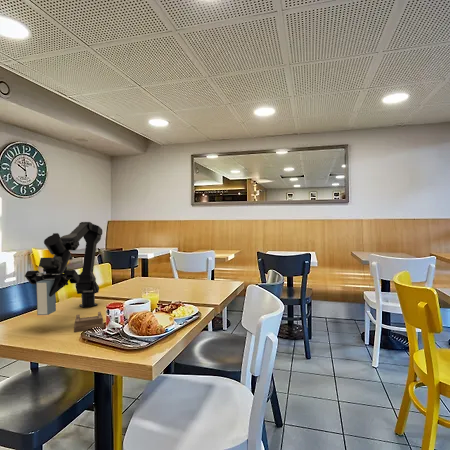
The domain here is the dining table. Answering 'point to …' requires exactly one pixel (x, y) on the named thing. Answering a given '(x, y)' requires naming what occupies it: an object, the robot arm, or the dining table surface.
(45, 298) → the grey rectangular block
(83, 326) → the stand
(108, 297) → the dining table surface
